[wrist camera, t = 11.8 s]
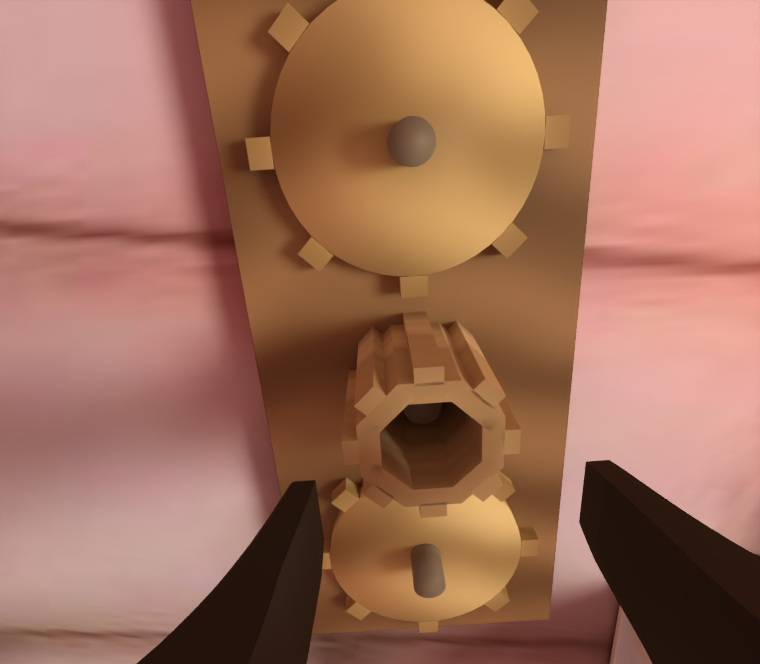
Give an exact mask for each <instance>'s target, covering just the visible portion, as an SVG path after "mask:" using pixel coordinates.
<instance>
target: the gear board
mask: <svg viewBox="0 0 760 664" xmlns="http://www.w3.org/2000/svg"><path fill="white" fill-rule="evenodd" d="M190 1H191V7H192V12H193V17H194V23H195V28H196V34H197V39H198V45H199V50H200V56H201V61H202V67H203V72H204V78H205V83H206V89H207V94H208V99H209V105H210V110H211V116H212V121H213V127H214V132H215V138H216V143H217V149H218V154H219V160H220V165H221V171H222V176H223V181H224V187H225V192H226V198H227V203H228V209H229V214H230V220H231V225H232V231H233V236H234V242H235V247H236V252H237V258H238V263H239V269H240V274H241V280H242V285H243V291H244V296H245V302H246V307H247V313H248V318H249V324H250V329H251V334H252V340H253V345H254V351H255V356H256V362H257V367H258V373H259V378H260V384H261V389H262V395H263V400H264V406H265V411H266V416H267V422H268V427H269V433H270V438H271V444H272V449H273V455H274V460H275V466H276V471H277V477H278V482H279V488H280V493H281V498H282V496H283V495H284V493H285V491H286V490H287V488H288V486H289V485H290V484H291V483H292V482H294V481H308V480H315V481H316V487H317V494H318V501H319V508H320V514H321V521H322V528H323V534H324V551H323V566H322V578H321V584H320V590H319V596H318V602H317V607H316V613H315V619H314V624H313V630H312V634H324V633H340V632H356V631H372V630H388V629H404V628H419V633H429V632H438V626H451V625H467V624H483V623H499V622H515V621H531V620H547V619H549V614H550V604H551V593H552V583H553V572H554V562H555V551H556V540H557V530H558V519H559V509H560V498H561V487H562V477H563V466H564V456H565V445H566V434H567V424H568V413H569V403H570V392H571V381H572V371H573V360H574V350H575V339H576V328H577V318H578V307H579V297H580V286H581V276H582V265H583V254H584V244H585V233H586V223H587V212H588V201H589V191H590V180H591V170H592V159H593V148H594V138H595V127H596V117H597V106H598V95H599V85H600V74H601V64H602V53H603V42H604V32H605V21H606V11H607V0H190ZM422 311H426V314H427V317H428V320H429V323H435V322H439V323H440V324H441V325H443V326H444V327H445V328H446V329H447V330H448V329H449V328H450V327H451V326H452V325H453V324H454V323H455V322H456V321H457V322H458V323H459V324H461V325H462V326H463V327H464V328H465V329H466V330H467V331H469V332H470V333H471V334H472V335H473V337H474V339H475V340H476V342H477V344H478V346H479V348H480V349H481V351H482V353H483V355H484V357H485V359H486V360H487V362H488V364H489V366H490V368H491V370H492V371H493V373H494V375H495V377H496V379H497V380H498V382H499V384H500V386H501V388H502V390H503V391H504V393H505V395H506V397H505V398H504V399H505V400H506V402H507V404H508V406H509V408H510V410H511V412H512V413H513V415H514V417H515V419H516V421H517V423H518V425H519V426H520V428H521V440H520V454H505V455H504V468H503V469H501V470H500V471H499V472H498V474H499V477H500V479H501V482H502V484H503V486H502V487H500V488H499V489H498V490H497V491H496V492H494V493H493V494H492V495H491V496H490V497H489V498H487V499H486V500H485V501H484V502H482V501H481V500H480V499H478V498H477V497H476V496H474V495H473V494H472V495H471V496H470V497H469V498H468V499H467V500H465V501H464V502H463V503H461V504H447V516H443V517H427V518H420V512H419V506H416V507H404V506H402V505H401V504H399V503H398V502H396V501H395V500H394V499H393V500H392V501H391V502H390V503H389V504H388V505H387V506H386V507H385V508H384V509H383V508H382V507H380V506H379V505H378V504H376V503H375V502H373V501H372V500H370V499H369V498H367V497H366V496H364V495H363V478H362V477H361V471H360V464H354V465H344V460H343V451H342V443H341V440H342V431H343V421H344V412H345V402H346V393H347V383H348V374H349V370H357V356H358V343H359V342H360V340H361V339H362V338H363V337H364V336H365V335H366V334H367V333H368V332H369V331H370V330H371V328H372V327H374V328H375V329H376V330H378V331H379V332H380V333H381V334H383V333H384V332H385V331H386V330H387V329H388V328H389V327H390V326H391V325H403V313H407V312H422ZM403 410H404V413H405V415H406V417H407V418H408V419H409V420H410V421H412V422H414V423H417V424H427V423H430V422H432V421H434V420H435V419H436V418H437V417H438V416H439V415H440V413H441V410H442V404H441V402H440V403H425V404H410V405H407V406H406V407H405V408H404V409H403Z"/></svg>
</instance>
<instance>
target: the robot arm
mask: <svg viewBox="0 0 760 664" xmlns="http://www.w3.org/2000/svg"><path fill="white" fill-rule="evenodd" d="M579 523H580V525H581V528H582V530H583V533H584V535H585V538H586V540H587V543H588V545H589V548H590V550H591V552H592V554H593V557H594V559H595V561H596V563H597V565H598V567H599V569H600V570H601V572H602V574H603V576H604V578H605V579H606V581H607V583H608V585H609V587H610V588H611V590H612V592H613V594H614V595H615V597H616V599H617V601H618V602H619V604H620V606H619V612H618V618H617V624H616V629H615V635H614V641H613V647H612V653H611V659H610V664H760V557H759V556H757V555H755V554H753V553H751V552H749V551H748V550H746V549H744V548H742V547H741V546H739V545H737V544H735V543H734V542H732V541H730V540H729V539H727V538H726V537H724V536H722V535H721V534H719V533H717V532H716V531H714V530H713V529H711V528H709V527H708V526H706V525H704V524H703V523H701V522H700V521H698V520H697V519H695V518H694V517H692V516H690V515H689V514H687V513H686V512H684V511H683V510H681V509H680V508H678V507H677V506H675V505H674V504H672V503H671V502H669V501H668V500H667V499H665V498H664V497H662V496H661V495H659V494H658V493H656V492H655V491H654V490H652V489H651V488H649V487H648V486H646V485H645V484H644V483H642V482H641V481H639V480H638V479H636V478H635V477H634V476H632V475H631V474H629V473H628V472H626V471H625V470H623V469H622V468H621V467H619V466H618V465H616V464H614V463H613V462H611V461H610V460H604V461H590V462H586V467H585V476H584V485H583V494H582V503H581V511H580V520H579ZM323 551H324V534H323V528H322V521H321V514H320V508H319V501H318V494H317V487H316V481H315V480H308V481H294V482H292V483H291V484H290V485H289V486H288V488H287V490H286V491H285V493H284V495H283V496H282V498H281V499H280V501H279V503H278V504H277V506H276V507H275V509H274V510H273V512H272V513H271V515H270V516H269V518H268V519H267V521H266V522H265V524H264V525H263V527H262V528H261V529H260V531H259V532H258V534H257V535H256V536H255V538H254V539H253V541H252V542H251V543H250V545H249V546H248V547H247V549H246V550H245V551H244V553H243V554H242V555H241V556H240V558H239V559H238V560H237V562H236V563H235V564H234V565H233V567H232V568H231V569H230V570H229V572H228V573H227V574H226V575H225V576H224V578H223V579H222V580H221V581H220V582H219V583H218V585H217V586H216V587H215V588H214V589H213V590H212V591H211V593H210V594H209V595H208V596H207V597H206V598H205V599H204V600H203V601H202V602H201V603H200V604H199V606H198V607H197V608H196V609H195V610H194V611H193V612H192V613H191V614H190V615H189V616H188V617H187V618H186V619H185V620H184V621H183V622H182V623H181V624H180V625H179V626H178V627H177V628H176V629H175V630H174V631H173V632H172V633H170V634H169V635H168V636H167V637H166V638H165V639H164V640H163V641H162V642H161V643H160V644H159V645H158V646H157V647H155V648H154V649H153V650H152V651H151V652H150V653H148V654H147V655H146V656H145V657H144V658H143V659H141V660H140V661H139V662H138V663H137V664H306V663H307V658H308V652H309V647H310V641H311V635H312V630H313V624H314V619H315V613H316V607H317V602H318V596H319V590H320V584H321V578H322V566H323Z"/></svg>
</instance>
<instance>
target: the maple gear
mask: <svg viewBox="0 0 760 664" xmlns="http://www.w3.org/2000/svg"><path fill="white" fill-rule="evenodd" d="M505 397H506V395H505V393H504V391H503V390H502V388H501V386H500V384H499V382H498V380H497V379H496V377H495V375H494V373H493V371H492V370H491V368H490V366H489V364H488V362H487V360H486V359H485V357H484V355H483V353H482V351H481V349H480V348H479V346H478V344H477V342H476V340H475V339H474V337H473V335H472V334H471V333H470V332H469V331H467V330H466V329H465V328H464V327H463V326H462V325H461V324H459V323H458V322H457V321H456V322H455V323H454V324H453V325H452V326H451V327H450V328H449V329H448V330H447V329H446V328H445V327H444V326H443V325H441V324H440V323H439V322H435V323H429V320H428V317H427V314H426V311H422V312H407V313H403V325H391V326H390V327H389V328H388V329H387V330H386V331H385V332H384V333H383V334H381V333H380V332H379V331H378V330H376V329H375V328H374V327H372V328H371V330H370V331H369V332H368V333H367V334H366V335H365V336H364V337H363V338H362V339H361V340H360V342H359V343H358V356H357V370H349V374H348V383H347V393H346V402H345V412H344V421H343V431H342V440H341V443H342V451H343V460H344V465H354V464H360V471H361V477H362V478H363V495H364V496H366V497H367V498H369V499H370V500H372V501H373V502H375V503H376V504H378V505H379V506H380V507H382V508H383V509H384V508H385V507H386V506H387V505H388V504H389V503H390V502H391V501H392V500H393V499H394V500H395V501H396V502H398V503H399V504H401V505H402V506H404V507H416V506H419V512H420V518H427V517H443V516H447V504H461V503H463V502H464V501H465V500H467V499H468V498H469V497H470V496H471V495H472V494H473V495H474V496H476V497H477V498H478V499H480V500H481V501H482V502H484V501H485V500H486V499H487V498H489V497H490V496H491V495H492V494H493V493H494V492H496V491H497V490H498V489H499V488H500V487H502V486H503V484H502V482H501V479H500V477H499V474H498V472H499V471H500V470H501V469H503V468H504V455H505V454H520V440H521V428H520V426H519V425H518V423H517V421H516V419H515V417H514V415H513V413H512V412H511V410H510V408H509V406H508V404H507V402H506V400H505V399H504V398H505ZM440 402H441V404H442V410H441V413H440V415H439V416H438V417H437V418H436V419H435V420H434V421H432V422H430V423H427V424H417V423H414V422H412V421H410V420H409V419H408V418H407V417H406V415H405V413H404V410H403V409H404V408H405V407H406V406H407V405H410V404H425V403H440Z"/></svg>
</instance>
